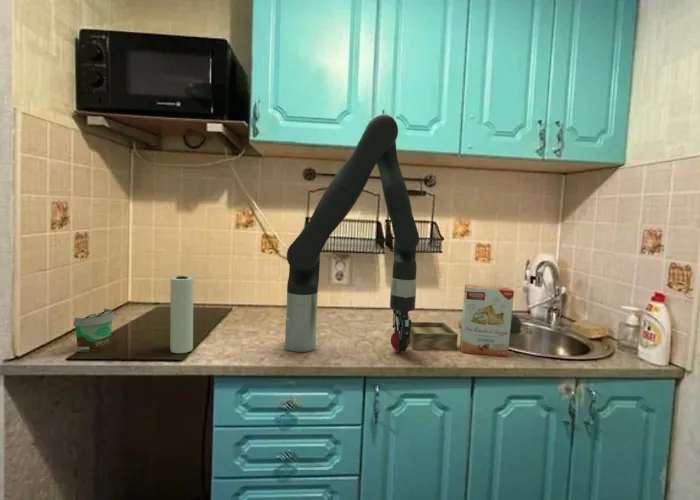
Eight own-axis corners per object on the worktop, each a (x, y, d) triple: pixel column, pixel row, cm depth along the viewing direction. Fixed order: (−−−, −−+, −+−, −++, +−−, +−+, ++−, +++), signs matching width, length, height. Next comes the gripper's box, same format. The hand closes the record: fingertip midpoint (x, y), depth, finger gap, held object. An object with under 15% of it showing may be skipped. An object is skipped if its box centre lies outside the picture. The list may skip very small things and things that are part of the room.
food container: (93, 356, 117) (93, 320, 116) (73, 354, 118) (73, 318, 117) (124, 342, 129) (124, 309, 128) (106, 340, 130) (105, 308, 129)
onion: (397, 356, 127) (398, 330, 126) (386, 350, 132) (387, 325, 131) (413, 354, 130) (414, 328, 129) (401, 348, 135) (403, 323, 134)
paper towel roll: (187, 354, 121) (188, 279, 119) (166, 353, 122) (166, 278, 119) (197, 346, 129) (198, 275, 126) (177, 345, 129) (177, 274, 127)
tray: (413, 349, 135) (414, 333, 134) (403, 335, 149) (403, 321, 148) (456, 349, 136) (457, 334, 136) (442, 336, 150) (443, 322, 150)
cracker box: (461, 353, 133) (466, 286, 131) (459, 347, 139) (464, 283, 137) (508, 357, 131) (514, 290, 129) (504, 351, 137) (510, 286, 135)
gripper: (386, 288, 136) (383, 340, 138) (395, 298, 122) (392, 355, 123) (409, 288, 137) (406, 340, 139) (421, 298, 123) (418, 356, 124)
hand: (399, 347), depth 131 cm, fingers closed on onion, 5 cm apart
